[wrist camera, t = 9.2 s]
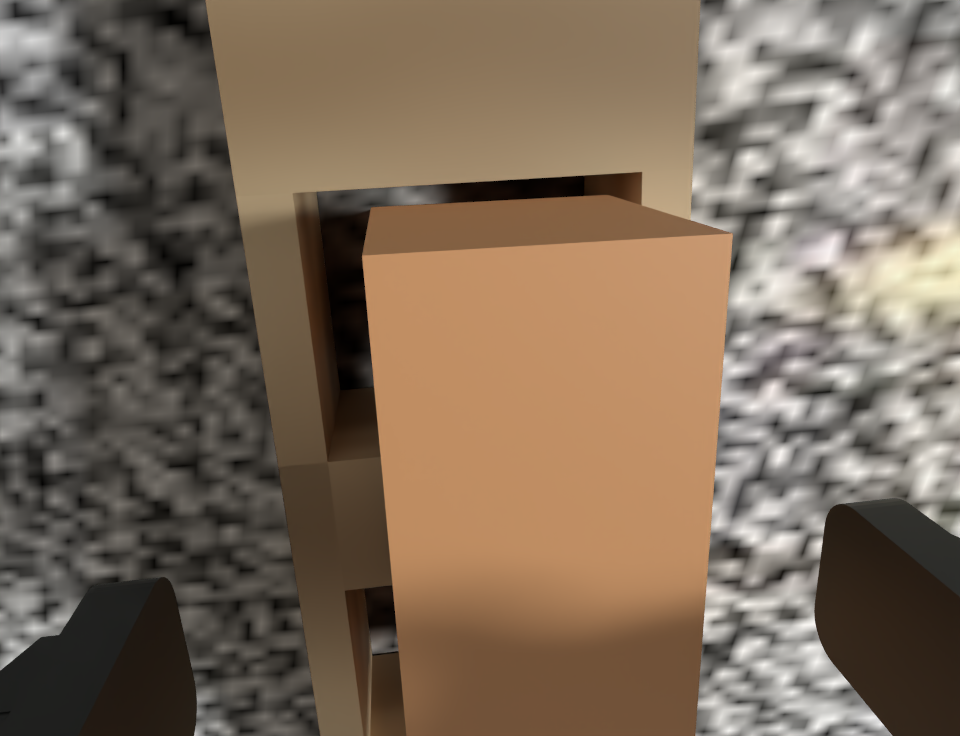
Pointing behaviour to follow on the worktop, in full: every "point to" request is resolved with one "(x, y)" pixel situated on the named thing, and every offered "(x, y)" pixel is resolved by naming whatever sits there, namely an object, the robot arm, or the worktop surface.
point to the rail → (411, 162)
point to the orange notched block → (547, 459)
